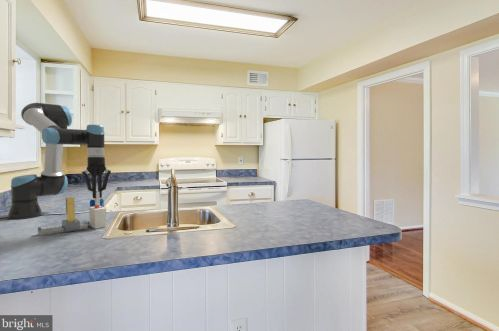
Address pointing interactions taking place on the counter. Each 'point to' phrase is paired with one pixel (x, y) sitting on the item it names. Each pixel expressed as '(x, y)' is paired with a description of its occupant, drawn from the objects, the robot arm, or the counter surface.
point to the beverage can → (92, 202)
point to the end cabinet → (97, 217)
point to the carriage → (70, 216)
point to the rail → (58, 229)
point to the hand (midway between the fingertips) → (97, 204)
